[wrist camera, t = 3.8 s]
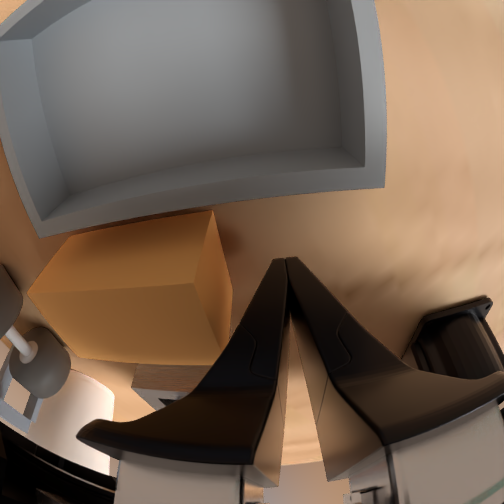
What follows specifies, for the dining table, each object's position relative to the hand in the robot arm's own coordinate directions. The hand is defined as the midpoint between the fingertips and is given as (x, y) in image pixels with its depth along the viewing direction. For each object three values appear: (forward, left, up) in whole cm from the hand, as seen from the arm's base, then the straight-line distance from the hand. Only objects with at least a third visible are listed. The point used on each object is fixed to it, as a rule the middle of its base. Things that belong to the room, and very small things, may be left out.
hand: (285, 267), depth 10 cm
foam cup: (+20, +14, -2) cm, 24 cm away
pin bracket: (+7, +11, -1) cm, 13 cm away
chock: (+6, 0, -2) cm, 6 cm away
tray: (+3, -7, -1) cm, 8 cm away
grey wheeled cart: (+20, +3, -1) cm, 20 cm away
